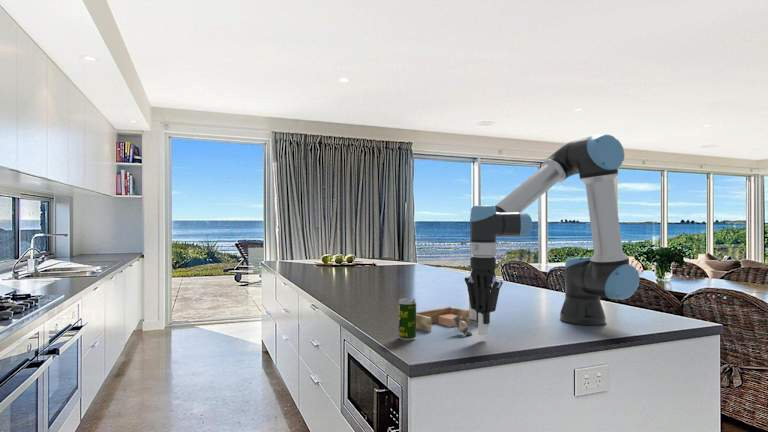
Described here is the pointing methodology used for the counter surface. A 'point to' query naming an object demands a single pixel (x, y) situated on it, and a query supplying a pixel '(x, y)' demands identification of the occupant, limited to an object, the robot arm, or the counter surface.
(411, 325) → the beer can
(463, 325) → the vase
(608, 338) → the counter surface
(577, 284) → the robot arm
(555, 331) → the counter surface
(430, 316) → the frame
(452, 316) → the tile
